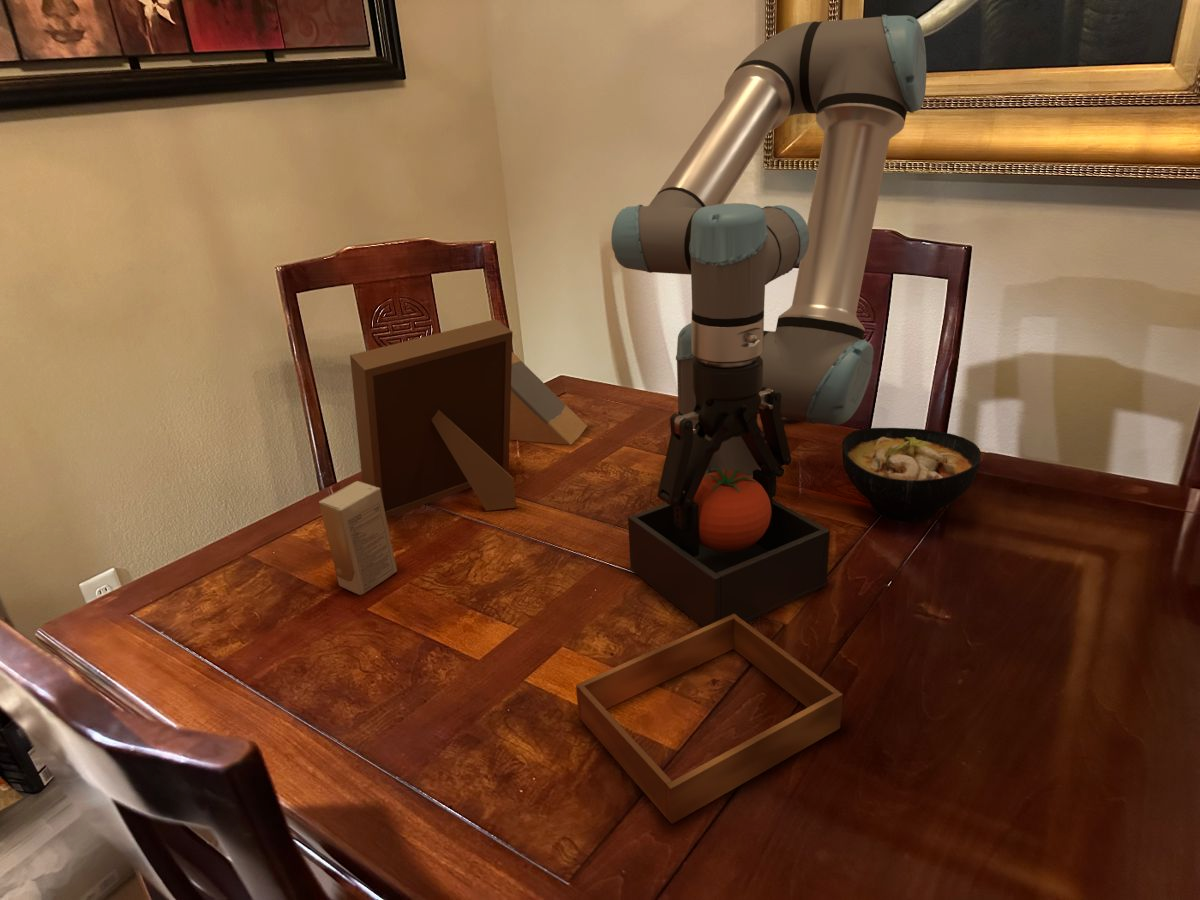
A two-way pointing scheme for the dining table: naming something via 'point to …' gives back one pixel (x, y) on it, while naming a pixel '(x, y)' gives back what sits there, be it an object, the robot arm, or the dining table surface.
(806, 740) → the box
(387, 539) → the cosmetic box
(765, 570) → the black square bin
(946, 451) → the bowl
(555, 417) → the sandwich container
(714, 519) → the tomato
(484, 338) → the photo frame
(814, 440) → the dining table surface
